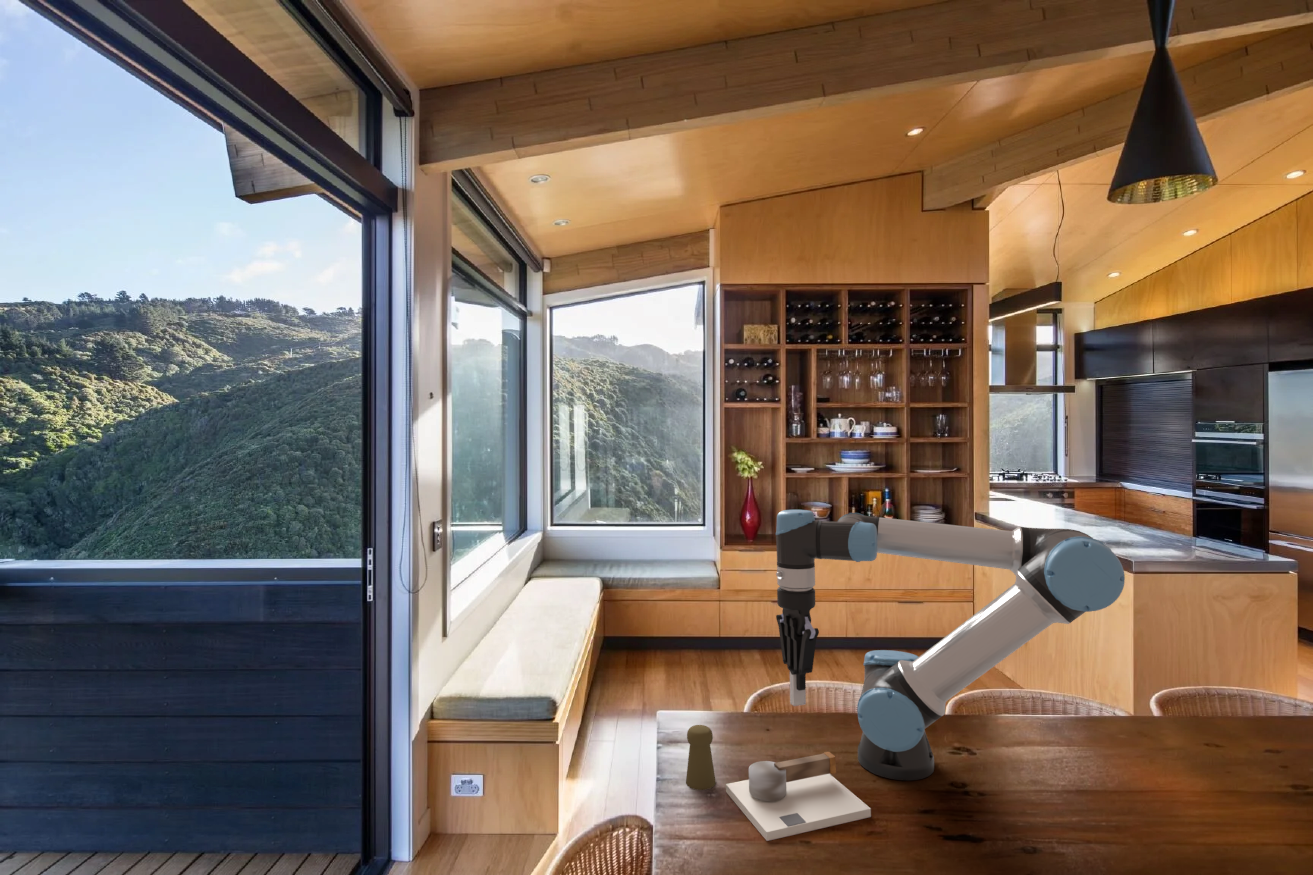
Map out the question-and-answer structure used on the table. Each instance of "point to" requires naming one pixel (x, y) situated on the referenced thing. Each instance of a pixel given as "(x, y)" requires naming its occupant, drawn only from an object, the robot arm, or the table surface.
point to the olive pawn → (700, 758)
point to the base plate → (800, 806)
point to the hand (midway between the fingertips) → (797, 703)
